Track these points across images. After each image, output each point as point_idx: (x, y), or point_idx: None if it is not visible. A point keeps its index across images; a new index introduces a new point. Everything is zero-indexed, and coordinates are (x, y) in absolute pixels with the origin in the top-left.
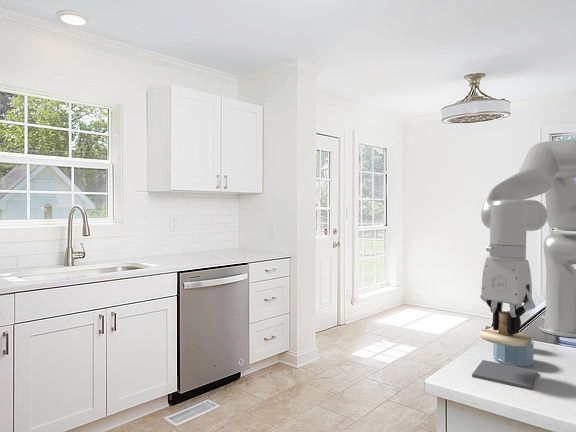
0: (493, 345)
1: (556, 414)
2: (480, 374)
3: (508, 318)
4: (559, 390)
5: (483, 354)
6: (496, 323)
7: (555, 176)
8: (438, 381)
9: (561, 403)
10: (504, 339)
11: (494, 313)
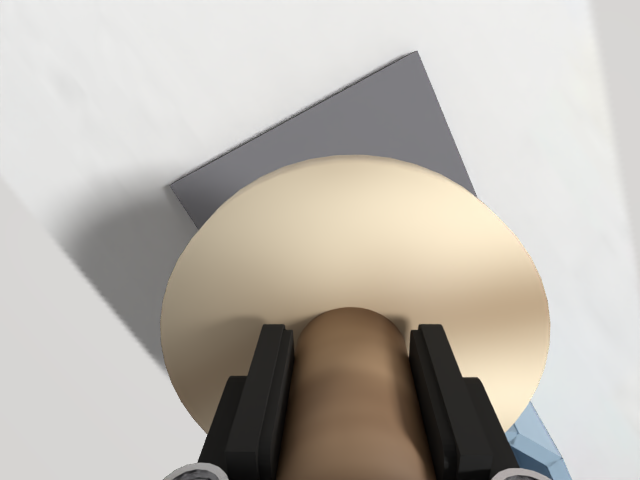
0: (540, 419)
1: None
2: (388, 92)
3: (257, 433)
4: (134, 282)
5: (573, 378)
6: (421, 370)
7: None
8: None
9: (29, 163)
10: (236, 205)
11: (476, 455)
